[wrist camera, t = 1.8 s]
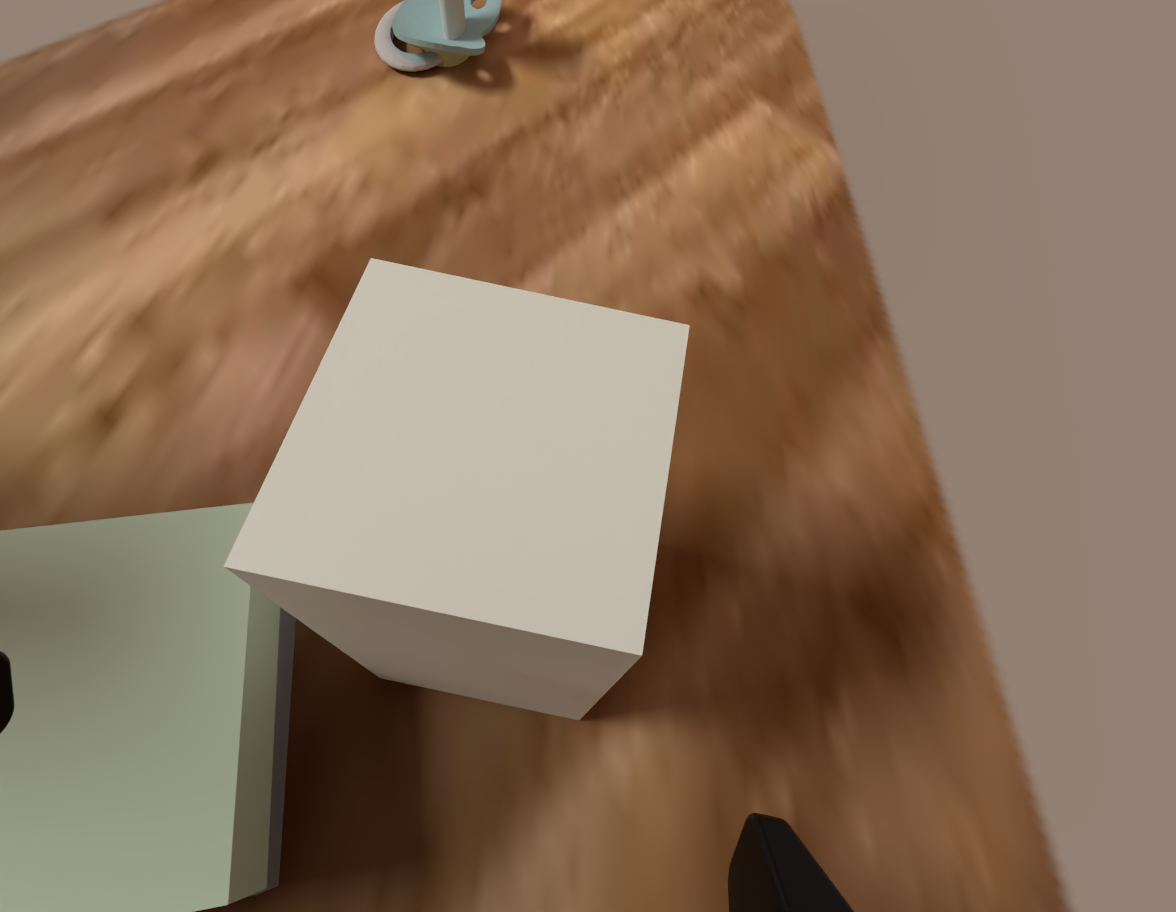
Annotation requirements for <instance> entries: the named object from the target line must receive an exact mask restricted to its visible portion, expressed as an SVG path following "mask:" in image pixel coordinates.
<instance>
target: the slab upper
mask: <svg viewBox="0 0 1176 912" xmlns="http://www.w3.org/2000/svg"><path fill="white" fill-rule="evenodd" d="M253 504H254V503H246V504H237V505H228V506H219V507H210V508H201V509H192V510H182V511H173V512H164V513H155V514H146V515H137V516H128V517H119V518H110V519H101V520H92V521H83V522H74V523H65V524H56V525H47V526H38V527H29V528H20V529H11V530H2V531H0V651H2V652H3V653H5V654H6V655H7V656H8V658H9V660H10V664H11V674H12V684H13V694H14V712H13V715H12V717H11V720H10V722H9V723H8V725H7V726H6V728H5V729H4V730H3V731H2V733H1V734H0V912H195V911H200V910H205V909H209V908H214V907H219V906H224V905H229V904H231V903H233V902H236V901H238V900H240V899H243V898H245V897H247V896H250V895H252V894H254V893H257V892H259V891H261V890H264V889H266V888H267V869H268V849H269V828H270V807H271V787H272V766H273V745H274V725H275V704H276V684H277V663H278V642H279V622H280V607H279V606H278V605H277V604H275V603H274V602H272V601H271V600H270V599H268V598H267V597H265V596H264V595H263V594H261V593H260V592H258V591H257V590H256V589H254V588H253V587H251V586H250V585H249V584H247V583H246V582H244V581H243V580H242V579H240V578H239V577H237V576H236V575H235V574H233V573H232V572H230V571H229V570H228V569H226V568H225V567H223V566H224V564H225V562H226V560H227V558H228V556H229V554H230V552H231V550H232V548H233V545H234V543H235V541H236V539H237V537H238V535H239V533H240V531H241V529H242V527H243V525H244V522H245V520H246V518H247V516H248V514H249V512H250V510H251V508H252V506H253Z"/></svg>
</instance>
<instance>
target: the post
mask: <svg viewBox="0 0 1176 912" xmlns="http://www.w3.org/2000/svg"><path fill="white" fill-rule="evenodd" d="M689 326H690V325H686V324H681V323H676V322H671V321H667V320H662V319H657V318H652V317H648V316H643V315H638V314H633V313H629V312H624V311H619V310H615V309H610V308H605V307H600V306H596V305H591V304H586V303H581V302H577V301H572V300H567V299H562V298H558V297H553V296H548V295H543V294H539V293H534V292H529V291H524V290H520V289H515V288H510V287H506V286H501V285H496V284H491V283H487V282H482V281H477V280H472V279H468V278H463V277H458V276H453V275H449V274H444V273H439V272H434V271H430V270H425V269H420V268H415V267H411V266H406V265H401V264H397V263H392V262H387V261H382V260H378V259H373V258H371V259H370V261H369V263H368V265H367V267H366V270H365V272H364V274H363V276H362V278H361V280H360V282H359V284H358V286H357V288H356V290H355V293H354V295H353V297H352V299H351V301H350V303H349V305H348V307H347V309H346V311H345V313H344V316H343V318H342V320H341V322H340V324H339V326H338V328H337V330H336V332H335V334H334V336H333V339H332V341H331V343H330V345H329V347H328V349H327V351H326V353H325V355H324V357H323V359H322V362H321V364H320V366H319V368H318V370H317V372H316V374H315V376H314V378H313V380H312V382H311V385H310V387H309V389H308V391H307V393H306V395H305V397H304V399H303V401H302V403H301V405H300V408H299V410H298V412H297V414H296V416H295V418H294V420H293V422H292V424H291V426H290V428H289V430H288V433H287V435H286V437H285V439H284V441H283V443H282V445H281V447H280V449H279V451H278V453H277V456H276V458H275V460H274V462H273V464H272V466H271V468H270V470H269V472H268V474H267V476H266V479H265V481H264V483H263V485H262V487H261V489H260V491H259V493H258V495H257V497H256V499H255V502H254V504H253V506H252V508H251V510H250V512H249V514H248V516H247V518H246V520H245V522H244V525H243V527H242V529H241V531H240V533H239V535H238V537H237V539H236V541H235V543H234V545H233V548H232V550H231V552H230V554H229V556H228V558H227V560H226V562H225V564H224V566H223V567H225V568H226V569H228V570H229V571H230V572H232V573H233V574H235V575H236V576H237V577H239V578H240V579H242V580H243V581H244V582H246V583H247V584H249V585H250V586H251V587H253V588H254V589H256V590H257V591H258V592H260V593H261V594H263V595H264V596H265V597H267V598H268V599H270V600H271V601H272V602H274V603H275V604H277V605H278V606H279V607H281V608H282V609H284V610H285V611H286V612H288V613H289V614H291V615H292V616H293V617H295V618H296V619H298V620H299V621H300V622H302V623H303V624H305V625H306V626H308V627H309V628H310V629H312V630H313V631H315V632H316V633H317V634H319V635H320V636H322V637H323V638H324V639H326V640H327V641H329V642H330V643H331V644H333V645H334V646H336V647H337V648H338V649H340V650H341V651H343V652H344V653H345V654H347V655H348V656H350V657H351V658H352V659H354V660H355V661H357V662H358V663H359V664H361V665H362V666H364V667H365V668H366V669H368V670H369V671H371V672H372V673H373V674H375V675H376V676H378V677H379V678H382V679H387V680H391V681H396V682H401V683H405V684H410V685H415V686H419V687H424V688H429V689H433V690H438V691H443V692H448V693H452V694H457V695H462V696H466V697H471V698H476V699H480V700H485V701H490V702H494V703H499V704H504V705H508V706H513V707H518V708H523V709H527V710H532V711H537V712H541V713H546V714H551V715H555V716H560V717H565V718H569V719H574V720H580V719H581V718H582V717H583V716H584V715H585V714H586V713H587V712H588V711H589V710H590V709H591V708H592V707H593V706H594V705H595V704H596V703H597V702H598V700H599V699H600V698H601V697H602V696H603V695H604V694H605V693H606V692H607V691H608V690H609V689H610V688H611V687H612V686H613V685H614V684H615V683H616V682H617V681H618V680H619V679H620V678H621V677H622V676H623V675H624V674H625V673H626V672H627V671H628V670H629V669H630V668H631V667H632V666H633V665H634V664H635V663H636V662H637V661H638V659H639V658H640V657H641V656H642V653H643V646H644V639H645V632H646V625H647V618H648V611H649V605H650V598H651V591H652V584H653V577H654V570H655V563H656V556H657V549H658V542H659V535H660V528H661V521H662V514H663V507H664V500H665V493H666V486H667V479H668V472H669V465H670V458H671V451H672V444H673V437H674V430H675V423H676V416H677V409H678V402H679V395H680V388H681V381H682V374H683V368H684V361H685V354H686V347H687V340H688V333H689Z"/></svg>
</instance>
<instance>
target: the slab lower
mask: <svg viewBox="0 0 1176 912" xmlns="http://www.w3.org/2000/svg"><path fill="white" fill-rule="evenodd" d="M295 627H296V618H295V617H293V616H292V615H291V614H289V613H288V612H286V611H285V610H284V609H282V608H281V607H280V622H279V642H278V663H277V684H276V704H275V725H274V745H273V766H272V787H271V807H270V828H269V849H268V869H267V888H266V889H264V890H261V891H259V892H257V893H254V894H252V895H250V896H255V895H258V894H261V893H263V892H265V891H268V890H270V889H272V888H275V887H277V886H279V875H280V860H281V844H282V829H283V813H284V798H285V782H286V767H287V751H288V736H289V720H290V705H291V689H292V674H293V658H294V643H295ZM247 897H249V896H247Z"/></svg>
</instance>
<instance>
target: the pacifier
mask: <svg viewBox="0 0 1176 912" xmlns="http://www.w3.org/2000/svg"><path fill="white" fill-rule="evenodd" d="M474 1H475V0H404V1H402V2H401V3H399V4H397V5H395V6H394V7H393V8H392V9H390V10H389V11H388V12H387V13H386V14H385V15H384V16H383V18H382V19H381V20H380V22H379V24H378V27H377V29H376V32H375V47H376V51H377V53H378V55H379V56H380V57H381V59H382V60H383V61H384V62H385V63H386V64H388V65H389V66H390V67H392V68H395V69H398V70H401V71H411V72H415V71H421V70H427V69H429V68H432V67H434V66H440V67H451V66H455V65H458V64H460V63H462V62H464V61H465V60H466V59H467V58H468V57H469V56H474V55H480V54H483V53H484V51H485V41H484V39H483V38H482V37H483V36H485V35H486V34H488V33H489V32H490V31H491V30H492V29H493V28H494V26H495V25H496V23H497V21H498V18H499V15H500V9H501V0H485V1H486V2H487V3H486V5H485V6H484V7H482V8H480V9H475V8H473V7H472V6H471V5H472V3H473V2H474ZM394 35H395V36H396V37H397V38H398V39H399V40H402V41H404V42H406V43H408V44H410V45H413V46H415V47H418V48H421V49H424V52H425V53H419V54H410V53H406V52H402V51H400V50H399V49H398V48H396V47H395V46H394V44H393V38H394Z"/></svg>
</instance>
